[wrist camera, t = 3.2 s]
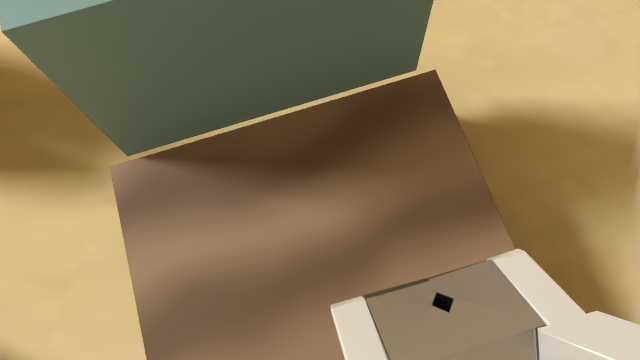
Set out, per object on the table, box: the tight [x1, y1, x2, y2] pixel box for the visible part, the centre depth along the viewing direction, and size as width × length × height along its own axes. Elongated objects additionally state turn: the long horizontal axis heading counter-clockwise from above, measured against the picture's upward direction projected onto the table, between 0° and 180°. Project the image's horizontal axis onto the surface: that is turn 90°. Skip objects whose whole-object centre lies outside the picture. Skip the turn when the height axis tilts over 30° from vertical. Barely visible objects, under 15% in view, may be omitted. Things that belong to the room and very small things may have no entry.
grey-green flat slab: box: [0, 0, 433, 156], centre depth 24 cm, size 3×16×11 cm, turn 107°
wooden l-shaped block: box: [110, 70, 515, 360], centre depth 24 cm, size 18×18×13 cm
